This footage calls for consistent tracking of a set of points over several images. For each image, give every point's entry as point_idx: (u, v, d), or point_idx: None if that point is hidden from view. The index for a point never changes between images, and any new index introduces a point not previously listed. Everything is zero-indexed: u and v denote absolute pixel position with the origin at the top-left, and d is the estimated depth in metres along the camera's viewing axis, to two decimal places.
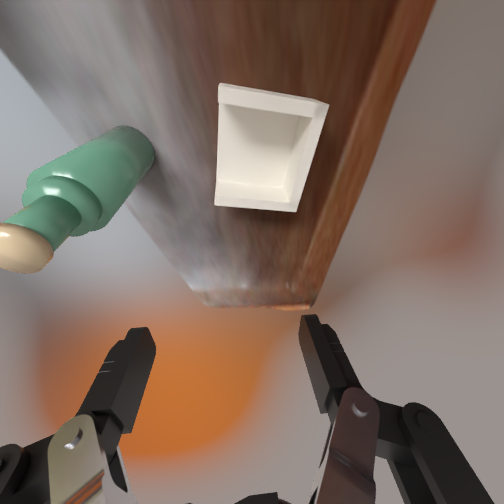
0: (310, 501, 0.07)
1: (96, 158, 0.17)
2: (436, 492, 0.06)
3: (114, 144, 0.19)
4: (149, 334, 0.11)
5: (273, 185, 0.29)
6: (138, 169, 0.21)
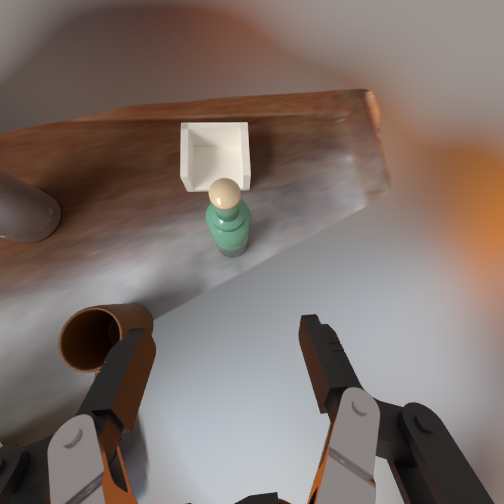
0: (310, 501, 0.07)
1: None
2: (436, 492, 0.06)
3: None
4: (149, 334, 0.11)
5: (240, 151, 0.41)
6: None
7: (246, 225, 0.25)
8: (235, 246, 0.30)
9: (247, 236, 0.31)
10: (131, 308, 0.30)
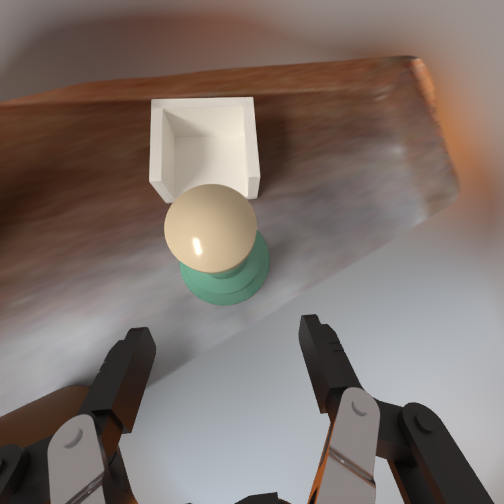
0: (310, 501, 0.07)
1: None
2: (436, 492, 0.06)
3: None
4: (149, 334, 0.11)
5: (242, 143, 0.28)
6: None
7: (262, 278, 0.12)
8: None
9: None
10: (60, 411, 0.17)
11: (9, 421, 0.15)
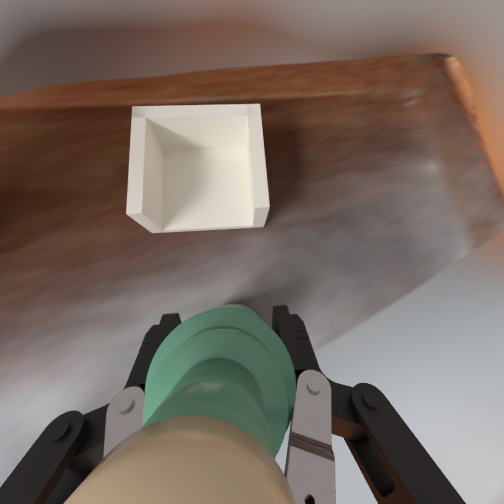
0: None
1: None
2: (387, 464, 0.06)
3: None
4: (179, 320, 0.12)
5: (246, 159, 0.23)
6: None
7: None
8: None
9: None
10: None
11: None
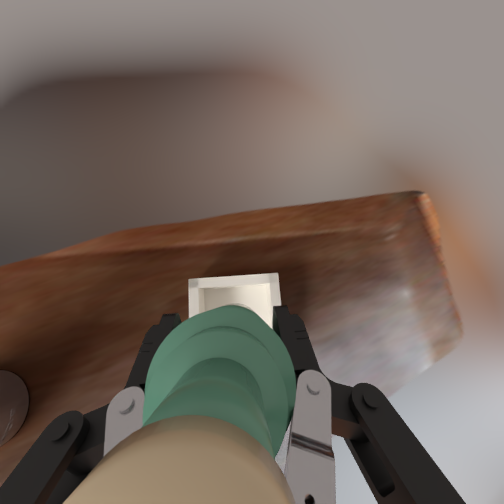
0: None
1: None
2: (388, 464, 0.06)
3: None
4: (179, 320, 0.12)
5: (265, 294, 0.31)
6: None
7: None
8: None
9: None
10: None
11: None
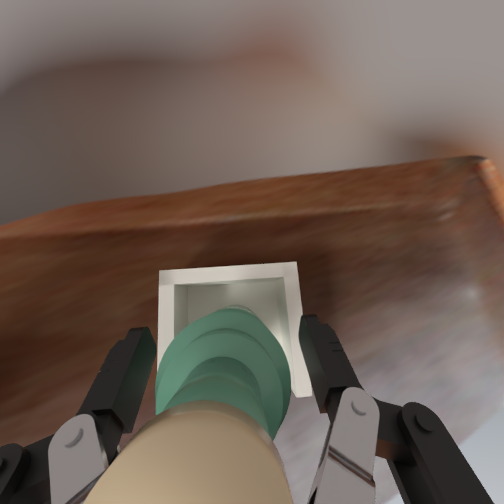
0: (310, 501, 0.07)
1: None
2: (436, 492, 0.06)
3: None
4: (149, 334, 0.11)
5: (275, 294, 0.22)
6: (228, 307, 0.16)
7: None
8: None
9: None
10: None
11: None
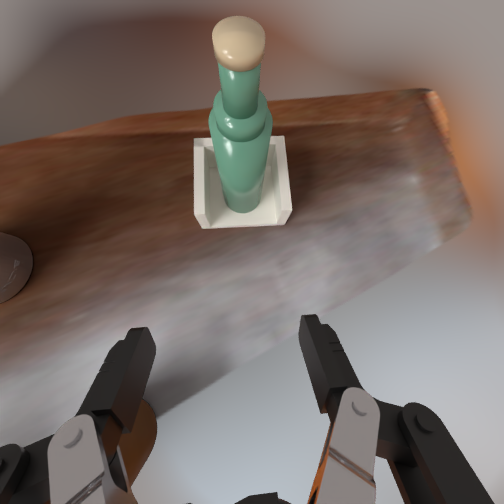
0: (310, 501, 0.07)
1: None
2: (436, 492, 0.06)
3: None
4: (149, 334, 0.11)
5: (270, 173, 0.31)
6: None
7: (267, 133, 0.17)
8: (248, 182, 0.22)
9: (264, 170, 0.23)
10: None
11: None
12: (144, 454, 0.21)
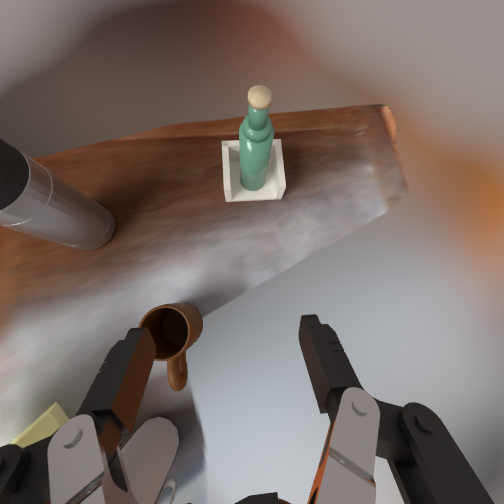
0: (310, 501, 0.07)
1: None
2: (436, 492, 0.06)
3: None
4: (149, 334, 0.11)
5: (271, 164, 0.45)
6: None
7: (271, 138, 0.32)
8: (259, 167, 0.36)
9: (268, 160, 0.37)
10: (188, 307, 0.35)
11: None
12: (199, 328, 0.35)
